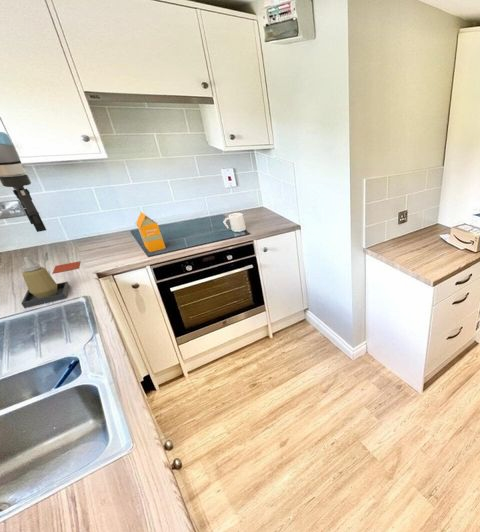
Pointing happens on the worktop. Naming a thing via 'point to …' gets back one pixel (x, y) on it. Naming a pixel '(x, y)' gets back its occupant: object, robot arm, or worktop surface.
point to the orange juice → (150, 233)
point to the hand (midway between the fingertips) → (38, 227)
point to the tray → (33, 301)
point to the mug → (236, 222)
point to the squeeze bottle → (38, 279)
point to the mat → (66, 267)
